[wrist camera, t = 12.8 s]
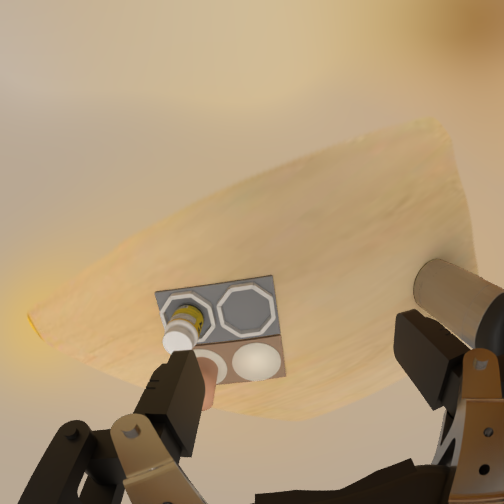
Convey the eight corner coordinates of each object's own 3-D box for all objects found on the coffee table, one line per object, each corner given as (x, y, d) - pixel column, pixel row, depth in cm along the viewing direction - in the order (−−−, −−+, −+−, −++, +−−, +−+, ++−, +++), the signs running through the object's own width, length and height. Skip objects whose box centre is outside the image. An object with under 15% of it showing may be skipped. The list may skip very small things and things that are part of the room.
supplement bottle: (198, 334, 41) (187, 365, 33) (171, 321, 40) (155, 350, 32) (209, 310, 40) (200, 338, 32) (181, 297, 39) (165, 322, 31)
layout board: (272, 275, 39) (277, 298, 31) (285, 374, 43) (291, 409, 35) (155, 291, 40) (134, 316, 31) (186, 384, 44) (176, 417, 35)
